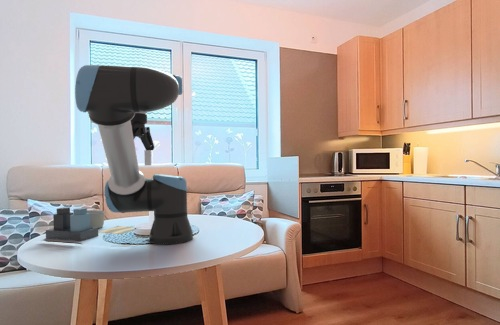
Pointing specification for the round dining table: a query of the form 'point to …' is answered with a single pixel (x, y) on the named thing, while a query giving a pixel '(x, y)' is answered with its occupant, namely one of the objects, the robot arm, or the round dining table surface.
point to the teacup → (96, 218)
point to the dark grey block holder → (67, 228)
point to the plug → (80, 220)
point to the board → (117, 230)
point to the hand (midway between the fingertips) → (138, 165)
